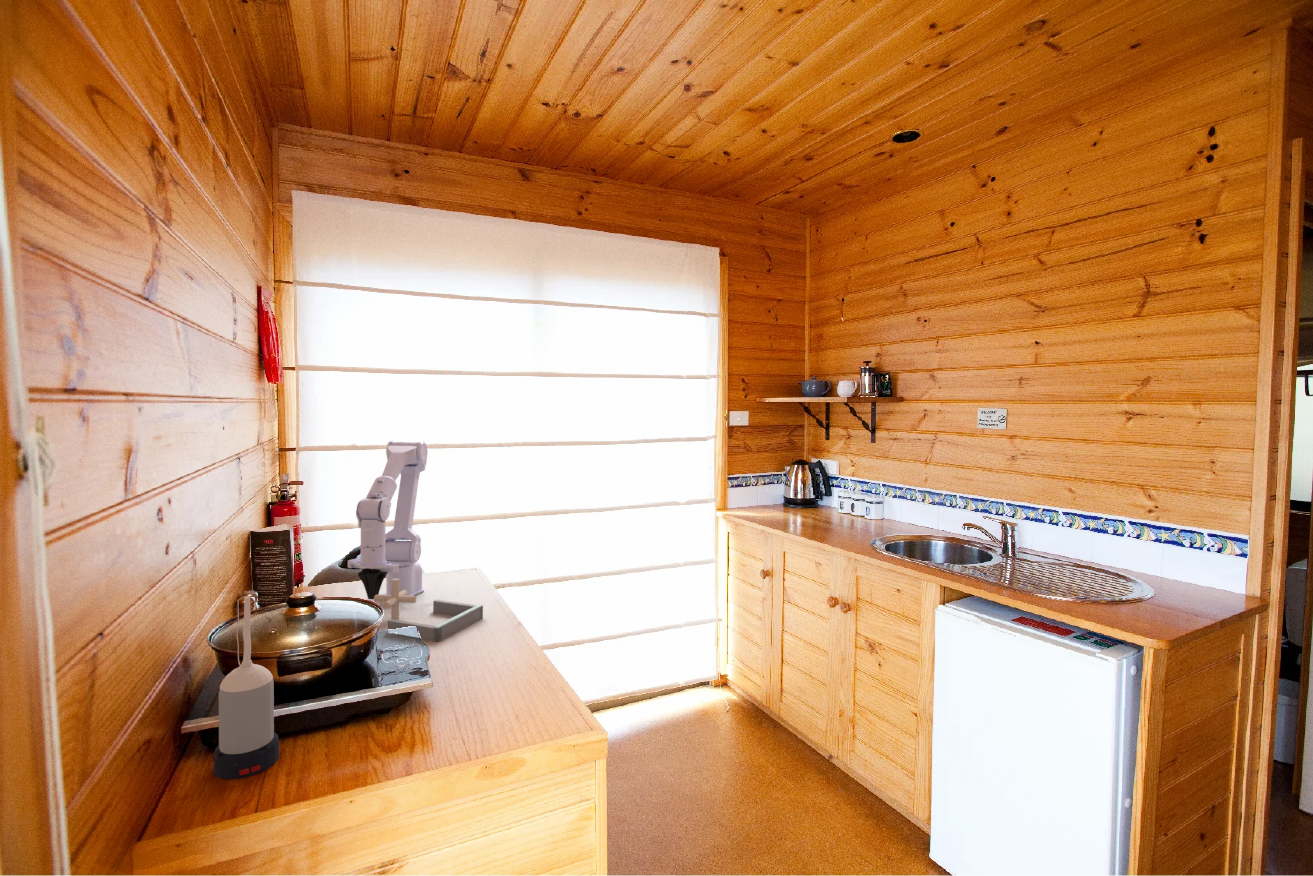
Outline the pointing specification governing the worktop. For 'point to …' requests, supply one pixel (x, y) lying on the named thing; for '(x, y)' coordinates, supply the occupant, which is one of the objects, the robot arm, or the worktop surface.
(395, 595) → the pipe connector
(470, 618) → the frame
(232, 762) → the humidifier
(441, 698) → the worktop surface
